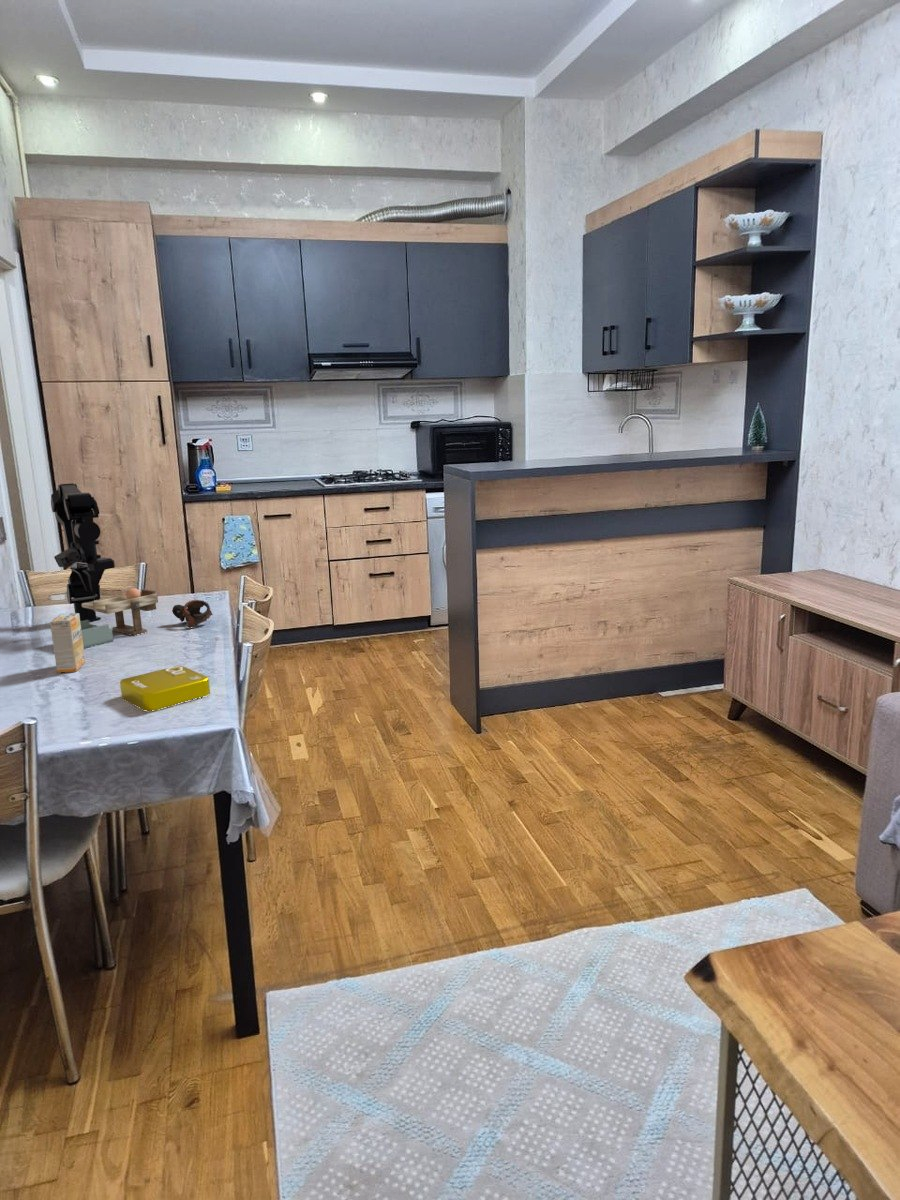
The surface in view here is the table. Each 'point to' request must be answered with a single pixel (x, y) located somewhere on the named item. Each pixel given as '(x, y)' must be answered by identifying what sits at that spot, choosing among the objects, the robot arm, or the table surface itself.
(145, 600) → the tipping lever
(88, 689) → the table surface
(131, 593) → the ball
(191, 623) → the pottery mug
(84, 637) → the bin
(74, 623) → the supplement box
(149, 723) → the table surface
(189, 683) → the element tile
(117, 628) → the lever stand
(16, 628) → the table surface
